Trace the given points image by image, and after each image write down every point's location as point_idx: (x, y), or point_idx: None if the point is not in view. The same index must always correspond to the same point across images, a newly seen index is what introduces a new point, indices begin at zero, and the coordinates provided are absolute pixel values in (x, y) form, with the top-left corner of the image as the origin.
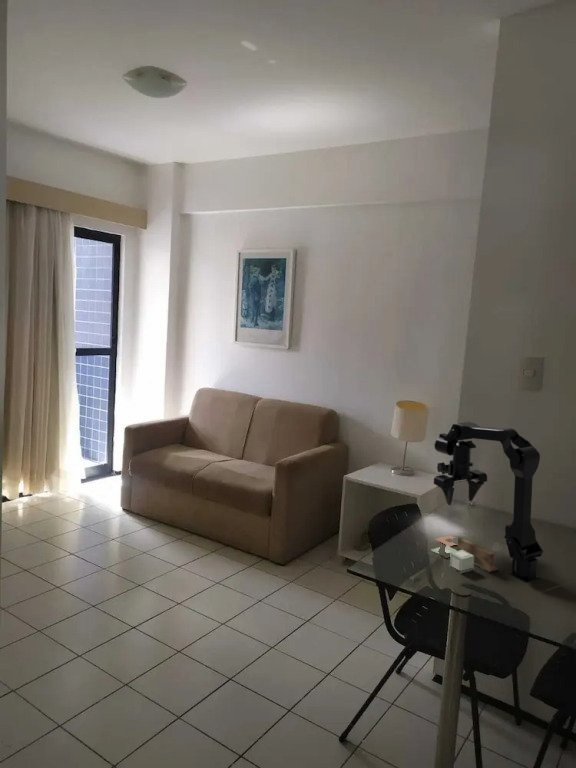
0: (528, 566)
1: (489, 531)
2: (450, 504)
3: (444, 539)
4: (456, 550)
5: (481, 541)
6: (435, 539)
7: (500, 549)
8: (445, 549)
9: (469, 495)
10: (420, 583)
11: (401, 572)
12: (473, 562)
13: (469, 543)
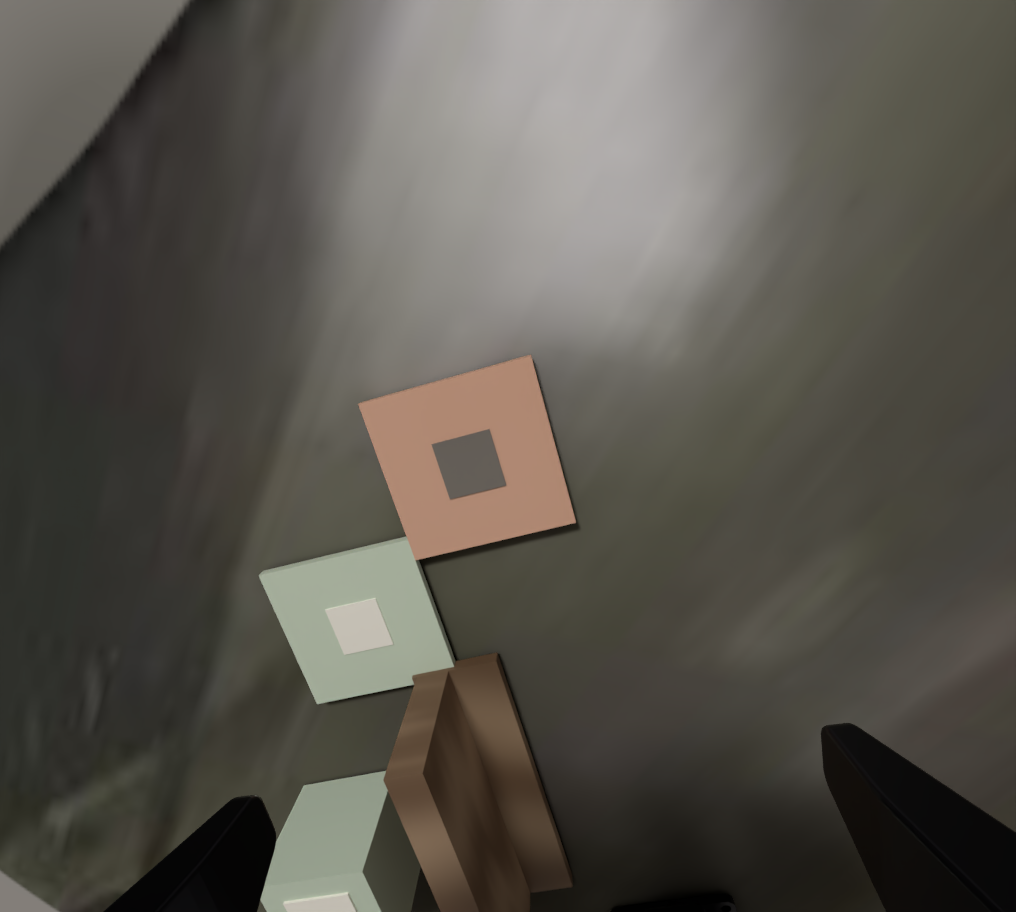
0: None
1: (977, 321)
2: (263, 866)
3: (433, 435)
4: (439, 629)
5: (744, 503)
6: (362, 407)
7: (791, 654)
8: (363, 601)
9: (903, 857)
10: (93, 869)
11: (10, 761)
12: (411, 900)
13: (432, 879)
